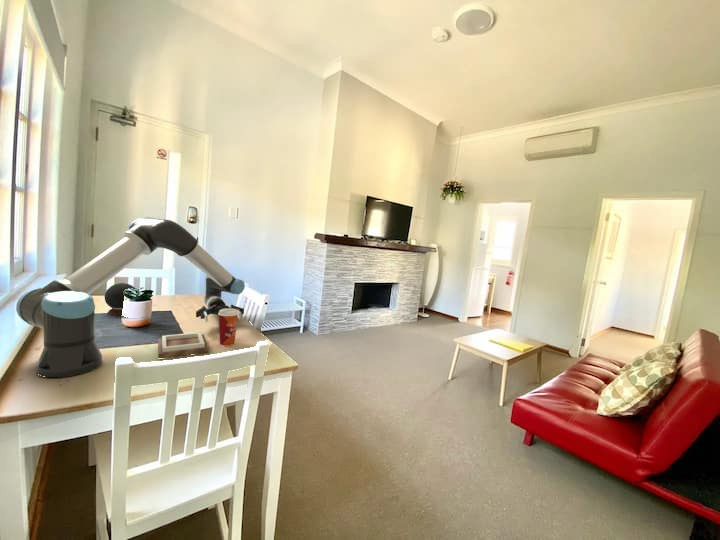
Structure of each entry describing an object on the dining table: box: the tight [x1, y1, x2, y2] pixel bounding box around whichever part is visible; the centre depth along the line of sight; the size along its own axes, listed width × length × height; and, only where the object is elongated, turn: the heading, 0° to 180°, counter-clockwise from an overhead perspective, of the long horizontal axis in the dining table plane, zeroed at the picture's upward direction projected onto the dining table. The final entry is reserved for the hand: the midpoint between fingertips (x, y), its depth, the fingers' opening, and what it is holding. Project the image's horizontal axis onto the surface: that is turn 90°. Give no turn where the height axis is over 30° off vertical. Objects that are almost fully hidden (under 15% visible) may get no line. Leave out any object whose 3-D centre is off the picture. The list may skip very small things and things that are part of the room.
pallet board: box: [157, 331, 210, 359], centre depth 118 cm, size 16×16×4 cm
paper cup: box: [218, 308, 238, 346], centre depth 126 cm, size 8×8×14 cm
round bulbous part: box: [104, 282, 136, 317], centre depth 152 cm, size 13×13×15 cm
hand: (223, 317), depth 134 cm, fingers open, 13 cm apart
